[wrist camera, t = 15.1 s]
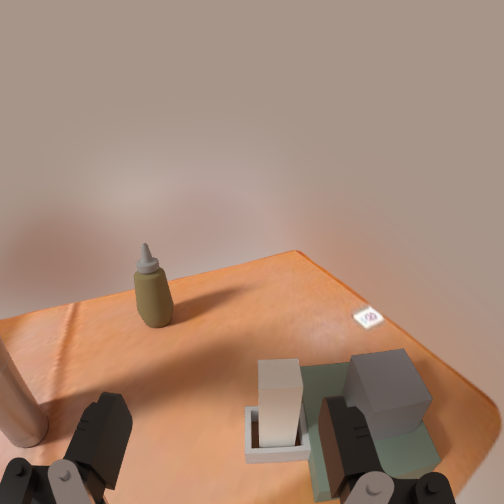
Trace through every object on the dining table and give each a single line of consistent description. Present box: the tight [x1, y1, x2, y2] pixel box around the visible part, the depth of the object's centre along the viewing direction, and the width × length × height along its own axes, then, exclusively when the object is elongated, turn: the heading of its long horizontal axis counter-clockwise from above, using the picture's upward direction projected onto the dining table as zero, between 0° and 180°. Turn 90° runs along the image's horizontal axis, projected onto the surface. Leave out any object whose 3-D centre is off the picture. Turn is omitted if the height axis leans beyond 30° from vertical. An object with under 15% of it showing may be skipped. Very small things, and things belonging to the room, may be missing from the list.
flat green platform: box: [245, 348, 441, 502], centre depth 34 cm, size 24×22×11 cm
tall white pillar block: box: [258, 358, 303, 448], centre depth 33 cm, size 5×5×14 cm
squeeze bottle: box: [134, 244, 174, 328], centre depth 60 cm, size 8×8×18 cm
